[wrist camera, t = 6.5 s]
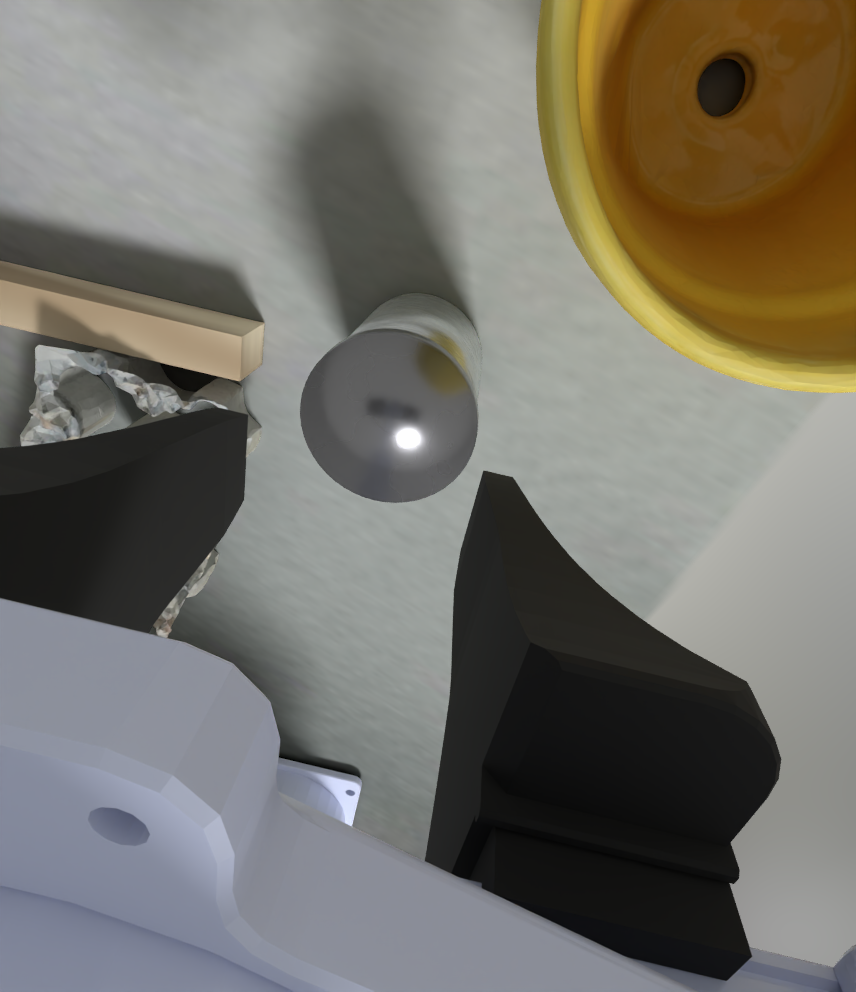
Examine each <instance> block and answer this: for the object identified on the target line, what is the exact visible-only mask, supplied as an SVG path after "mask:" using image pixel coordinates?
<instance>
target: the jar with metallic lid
mask: <svg viewBox="0 0 856 992" xmlns="http://www.w3.org/2000/svg"><path fill="white" fill-rule="evenodd" d="M481 368H482V349H481V344H480V340H479V337H478V335H477V332H476V330H475V328H474V326H473V325H472V323H471V322H470V320H469V319H468V317H467V316H466V315H465V314H464V313H463V312H462V311H461V310H460V309H458V308H457V307H456V306H455V305H453V304H452V303H450V302H449V301H447V300H444V299H442V298H440V297H437V296H434V295H430V294H424V293H411V294H404V295H400V296H397V297H394V298H392V299H390V300H388V301H386V302H385V303H383V304H381V305H380V306H379V307H378V308H376V309H375V310H374V311H373V312H372V313H371V314H370V316H369V317H368V318H367V319H366V320H365V321H364V322H363V323H362V324H361V325H360V326H359V327H358V328H357V329H356V330H355V331H354V332H353V333H352V334H351V335H350V336H349V337H348V338H346V339H344V340H343V341H341V342H339V343H338V344H337V345H336V346H334V347H333V348H332V349H331V350H330V351H329V352H328V353H327V354H326V355H325V356H324V357H323V358H322V359H321V360H320V361H319V362H318V363H317V364H316V366H315V367H314V369H313V370H312V371H311V373H310V375H309V377H308V379H307V381H306V383H305V387H304V390H303V393H302V398H301V407H300V417H301V426H302V430H303V434H304V437H305V440H306V443H307V445H308V448H309V449H310V451H311V453H312V455H313V457H314V458H315V460H316V461H317V463H318V464H319V465H320V466H321V468H322V469H323V470H324V471H325V472H326V473H327V474H328V475H329V476H330V477H331V478H332V479H333V480H334V481H336V482H337V483H339V484H340V485H341V486H343V487H344V488H346V489H348V490H350V491H351V492H353V493H355V494H358V495H360V496H362V497H365V498H369V499H372V500H377V501H382V502H393V503H397V502H409V501H415V500H419V499H422V498H426V497H428V496H430V495H433V494H435V493H437V492H439V491H440V490H442V489H444V488H445V487H446V486H448V485H449V484H450V483H451V482H453V481H454V480H455V479H456V477H457V476H458V475H459V474H460V473H461V472H462V470H463V469H464V468H465V466H466V465H467V463H468V461H469V459H470V457H471V455H472V452H473V449H474V446H475V442H476V437H477V430H478V404H477V399H478V392H479V384H480V376H481Z"/></svg>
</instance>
